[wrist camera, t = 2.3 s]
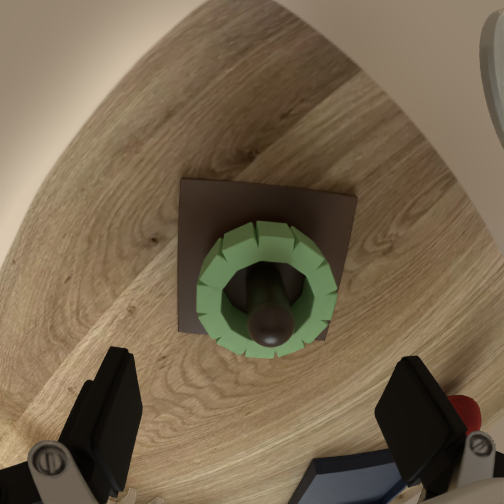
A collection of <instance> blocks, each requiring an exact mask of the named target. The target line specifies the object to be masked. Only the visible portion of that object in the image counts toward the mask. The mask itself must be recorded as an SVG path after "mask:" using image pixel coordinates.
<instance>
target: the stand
mask: <svg viewBox="0 0 504 504" xmlns="http://www.w3.org/2000/svg"><path fill="white" fill-rule="evenodd" d="M357 199H358V197H357V196H355V195H349V194H342V193H335V192H327V191H320V190H312V189H304V188H296V187H288V186H279V185H269V184H260V183H249V182H238V181H227V180H214V179H200V178H184V177H183V178H181V180H180V199H179V224H178V332H184V333H194V334H204V335H209V334H208V332H207V331H206V329H205V328H204V326H203V325H202V323H201V322H200V320H199V318H198V314H199V313H197V312H196V295H197V282H198V278H199V275H200V271H201V267H202V265H203V261H204V259H205V257H206V256H207V254H208V253H209V252H210V250H211V249H212V247H213V246H214V245H215V243H216V242H217V240H218V239H219V238H222V239H224V234H225V233H227V232H229V231H232V230H234V229H236V228H238V227H241V226H243V225H245V224H247V223H250V222H252V223H253V226H254V228H255V230H256V222H257V221H266V222H276V223H286V224H287V225H288V227H289V229H290V227H291V226H293V227H295V228H296V229H297V230H299V231H300V232H302V233H303V234H304V235H306V236H307V237H308V238H310V239H311V240H312V241H314V243H315V244H316V246H317V247H318V248H319V249H320V251H321V252H322V254H323V255H324V257H325V258H326V260H327V262H328V263H329V265H330V268H331V271H332V274H333V276H334V279H335V282H336V285H337V290H335V291H336V292H337V293H338V289H339V285H340V281H341V276H342V272H343V268H344V263H345V259H346V254H347V250H348V245H349V240H350V235H351V231H352V226H353V220H354V215H355V210H356V204H357ZM304 281H305V275H304V274H303V273H301V272H300V271H298V270H297V269H295V268H294V267H292V266H291V265H289V264H288V263H281V262H268V261H259V262H256V263H254V264H252V265H249V266H247V267H245V268H242V269H240V270H238V271H236V273H235V274H234V275H233V277H232V278H231V279H230V280H229V282H228V283H227V284H226V286H225V287H224V288H223V290H224V292H225V294H226V296H227V297H228V299H229V301H230V303H231V304H232V306H234V307H235V308H237V309H239V310H240V311H242V312H244V313H245V314H247V330H248V333H249V335H250V337H251V338H252V339H253V340H254V341H255V342H256V343H257V344H259V345H261V346H264V347H269V348H272V347H278V346H281V345H283V344H284V343H286V342H287V341H288V340H289V339H290V338H291V336H292V334H293V332H294V329H295V318H294V315H293V312H292V311H291V308H290V307H291V306H292V305H293V304H294V303H295V302H296V301H297V299H298V298H299V297H300V296H301V295H302V291H303V286H304ZM327 322H328V326H327V327H326V328H325V329H324V330H323V331H322V332H321V333H320V334H319V335H318V336H317V337H316V338H315V339H314V340H325V338H326V334H327V331H328V327H329V324H330V320H327Z"/></svg>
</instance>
